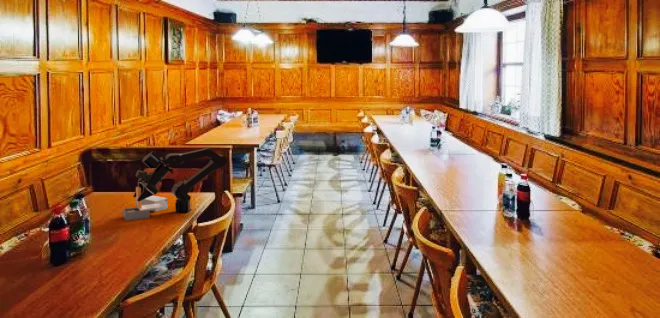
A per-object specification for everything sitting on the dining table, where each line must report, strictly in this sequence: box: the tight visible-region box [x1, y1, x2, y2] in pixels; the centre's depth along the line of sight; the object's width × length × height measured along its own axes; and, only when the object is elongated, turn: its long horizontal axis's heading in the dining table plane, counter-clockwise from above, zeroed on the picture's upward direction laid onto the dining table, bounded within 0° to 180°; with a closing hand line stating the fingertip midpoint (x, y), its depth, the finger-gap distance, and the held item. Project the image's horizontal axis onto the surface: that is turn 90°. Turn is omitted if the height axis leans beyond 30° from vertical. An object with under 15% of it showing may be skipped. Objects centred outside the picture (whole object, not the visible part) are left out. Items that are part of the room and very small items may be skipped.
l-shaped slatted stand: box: [135, 186, 163, 211], centre depth 246 cm, size 11×8×11 cm
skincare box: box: [135, 195, 168, 212], centre depth 260 cm, size 8×6×15 cm
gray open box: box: [122, 206, 151, 222], centre depth 244 cm, size 11×8×4 cm
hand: (135, 198), depth 243 cm, fingers open, 9 cm apart
